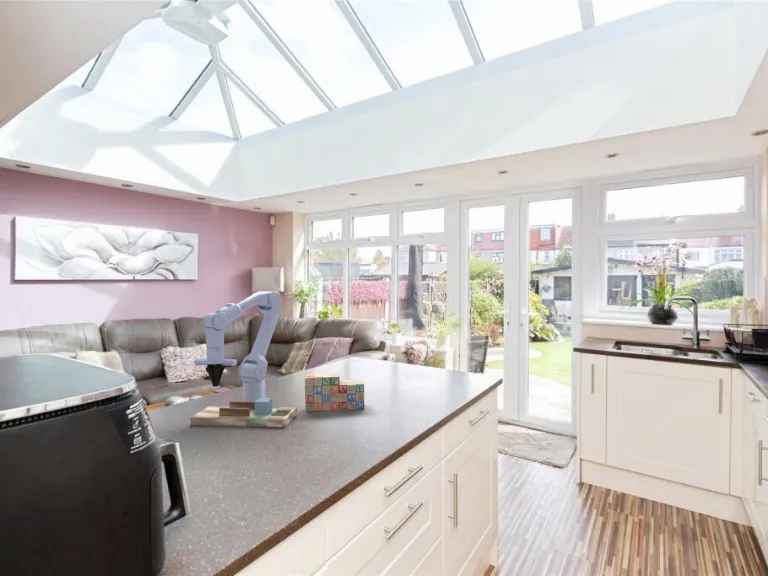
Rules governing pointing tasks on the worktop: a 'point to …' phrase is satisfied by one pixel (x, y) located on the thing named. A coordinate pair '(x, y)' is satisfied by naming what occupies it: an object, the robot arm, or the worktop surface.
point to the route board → (243, 415)
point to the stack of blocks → (332, 392)
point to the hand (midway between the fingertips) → (216, 385)
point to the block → (263, 406)
